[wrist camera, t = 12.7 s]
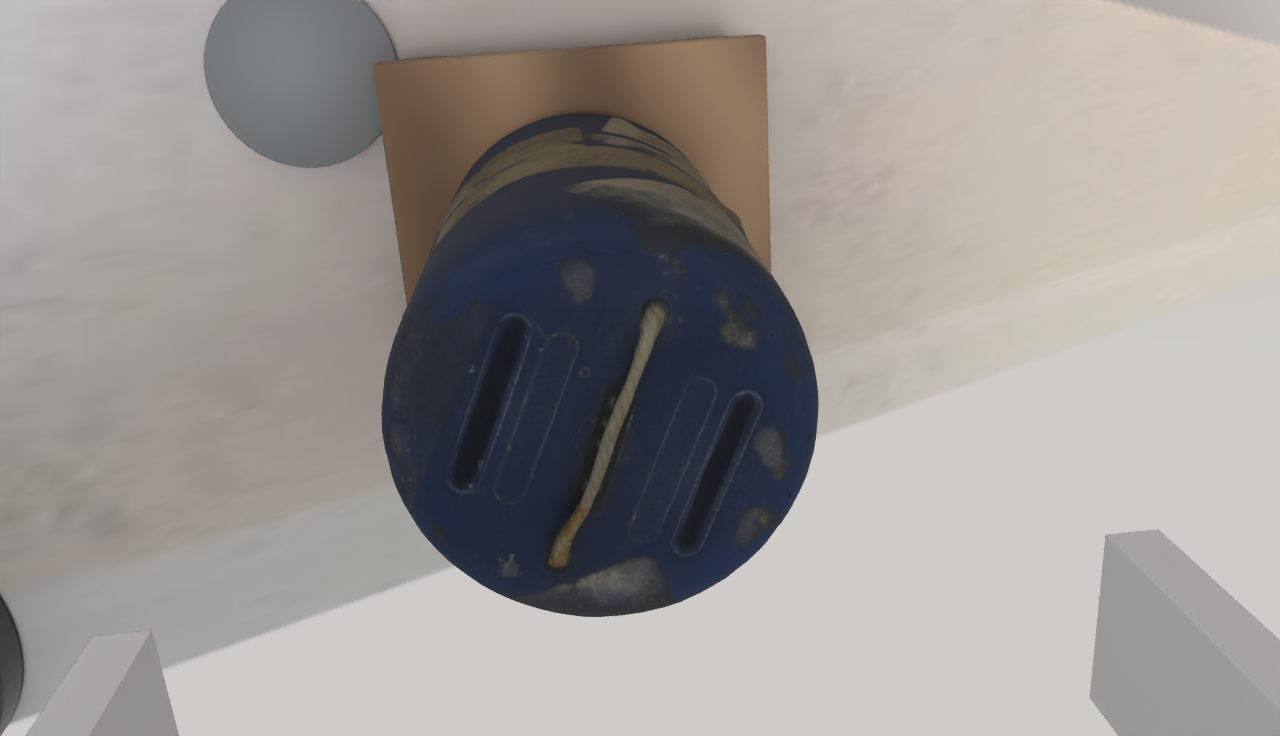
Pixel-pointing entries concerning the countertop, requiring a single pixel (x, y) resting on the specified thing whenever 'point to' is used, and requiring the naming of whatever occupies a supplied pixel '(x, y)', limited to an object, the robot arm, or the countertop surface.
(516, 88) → the step stool
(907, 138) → the countertop surface
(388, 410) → the canister
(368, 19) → the slate coaster
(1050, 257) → the countertop surface
